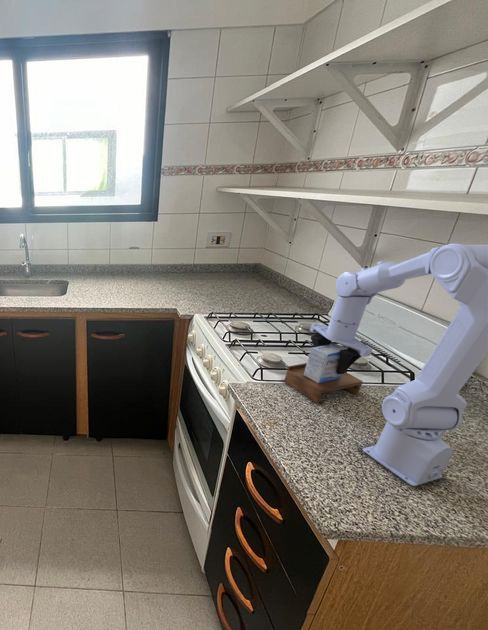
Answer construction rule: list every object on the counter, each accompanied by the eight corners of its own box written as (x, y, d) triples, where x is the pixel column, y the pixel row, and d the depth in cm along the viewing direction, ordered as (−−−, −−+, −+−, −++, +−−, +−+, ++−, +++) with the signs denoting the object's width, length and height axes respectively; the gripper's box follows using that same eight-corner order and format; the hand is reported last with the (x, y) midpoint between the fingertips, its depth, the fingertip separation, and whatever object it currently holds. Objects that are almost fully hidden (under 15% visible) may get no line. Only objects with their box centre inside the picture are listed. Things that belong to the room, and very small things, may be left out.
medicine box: (318, 384, 88) (327, 355, 85) (302, 375, 92) (311, 346, 89) (340, 378, 90) (351, 350, 87) (324, 370, 94) (334, 342, 91)
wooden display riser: (358, 394, 91) (364, 378, 89) (316, 403, 88) (321, 387, 86) (323, 373, 100) (328, 358, 98) (284, 381, 96) (288, 366, 94)
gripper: (389, 330, 79) (369, 379, 85) (330, 307, 92) (316, 351, 98) (366, 334, 78) (347, 384, 83) (309, 310, 91) (296, 355, 96)
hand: (329, 366), depth 90 cm, fingers open, 6 cm apart
